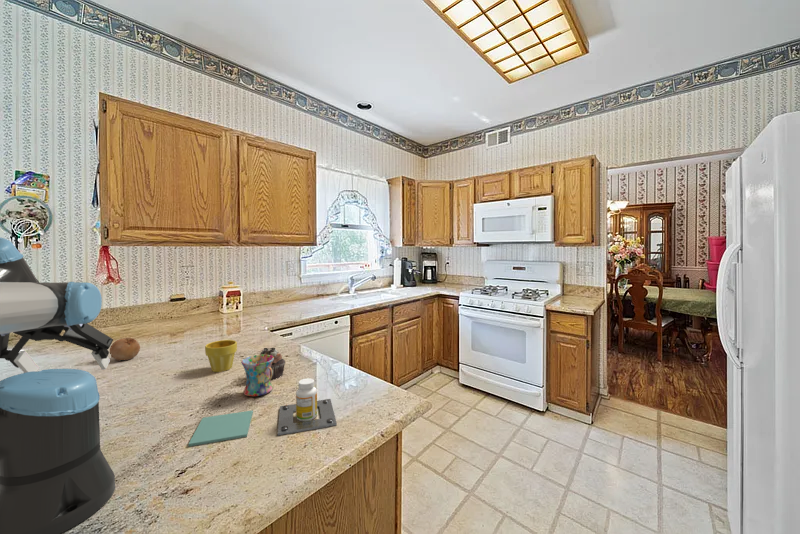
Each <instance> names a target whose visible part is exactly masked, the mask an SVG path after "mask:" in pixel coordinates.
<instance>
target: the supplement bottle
mask: <svg viewBox="0 0 800 534" xmlns="http://www.w3.org/2000/svg"><path fill="white" fill-rule="evenodd" d="M317 389H318V388H316V387H315V380H314V378H302V379H300V380H298V389H297V390H296V392H295V404H296V412H295V414H296V419H297V420H298V421H299V422H304V421H310V420H315V418H316V417H317V415H318V408H317V401H318V391H317Z"/></svg>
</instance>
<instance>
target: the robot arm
mask: <svg viewBox="0 0 800 534" xmlns="http://www.w3.org/2000/svg"><path fill="white" fill-rule="evenodd" d="M13 243H14V242H12V241H10V240H9V239H7V238H4V237H0V359H4V360H5V361H9V362H10V363H11V364H12V365H13V366H14V367H15V368H17V369H18V368H19V369H20V370H21V371H22V372H23V373H22V372H21V373H18V374H14V375H12V376H11V375H10V376H9V377H5V378H4V379H2V380H0V534H62V533H65V532H66V531H68V530H70V529H72V528H74V527H75V526H77V525H79V524H80V523H82V522H84V521H85V520H87V519H88V518H89V517H91V516H93V515H94V514H95V513H97V512H98V511H99V510H100V509H102V508H103V506H105V505H106V504H107V502H108V501H109V500H110V499H111V498H112V496H113V494H114V493H115V490H116V477H115V475H116V474H115V473H114V471H113V469H112V467H111V466H110V463H109V461H108V460H107V458H106V457H105V455H104V453H103V452H102V449H101V433H100V432H101V431H100V429H101V428H100V402H99V401H100V397H101V396H100V393H99V392H100V391H99V389H98V384H97V379H96V376H94V375H93V374H92V373H90V372H89V371H85V370H83V369H78V368H77V369H76V368H50V369H49V368H46V369H41V370H40V366H39V365H38V364H37V363H36V362H35V360H34V359H33V358H32V357H31V355H29V353H28V352H27V351H26V350H22V349H23V348H24V346H25V345H26V344H27V343H28V342H29V340H33V341H34V342H39V341H45V340H46V341H52V340H55V341H58V342H67V343H70V344H73V345H76V346H79V347H81V348H85V349H87V350H90V351H91V356H92V357H93V358H94V359H95V361H96V363H97V364H98V366H99V368H100V369H101V370H103V371H104V370H107V369H108V368H107V367H108V365H109V364H110V361H111V359H110V357H109V355H110V347H111V345H112V344H113V342H114V339H113V338H112V337H111V336H109V335H106V334H105V333H104V332H102V331H100V330H99V329H97V328H95V327H94V326H92V325H90V324H89V323H92V322H93V321H94V320H95V319H97V317H98V316H99V315H100V313H101V310H102V303H103V299H102V294H101V291H100V289H99V288H98V286H96V285H95V284H94V283H92V282H87V281H86V282H79V281H78V282H77V281H76V282H75V281H68V282H67V281H66V282H65V281H64V282H39V280H38V278H37V277H36V276H35V274H34V272H33V271H32V270H31V267H30V265H29V264H28V263H27V261H26V260H25V258H24V255H23V253H21V252H20V251H19V250H18V249H17V247H16V246H15V244H13ZM63 331H64V333H63V335H62V332H63ZM11 333H13V334H16V335H18V336H21V337H20V339H19V340H18V341H17V342H16V343H15V345H14V346H13V348H11V349H8V348H9V341H10V334H11Z"/></svg>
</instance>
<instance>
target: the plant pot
mask: <svg viewBox="0 0 800 534" xmlns="http://www.w3.org/2000/svg"><path fill="white" fill-rule="evenodd" d="M204 351H205V353H204V354H205V356H207V358H208V361H209V365H210V368H211V371H212V372H214V373H222V372H223V373H224V372H227V371H230V370H231V369H233V364H234V359H235V354H236V352H237V351H238V342H237V341H236V340H232V339H223V340H216V341H212V342H209V343H207V344H205V345H204Z"/></svg>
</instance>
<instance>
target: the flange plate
mask: <svg viewBox="0 0 800 534" xmlns="http://www.w3.org/2000/svg"><path fill="white" fill-rule="evenodd" d="M317 409H319V414H320V418H316V419H312V420H310V421H298V422H294V413H296V403H293V404H287V405H285V404H284V405H280V406H279V415H278V416H279V417H278V425H277V436H278V437H279V436H283V435H289V434H294V433H301V432H306V431H312V430H318V429H323V428H324V429H325V428H330V427H336V426H337V419H336V415H335V412H334V411H335V410H334V407H333V405H332V399H331V398H326V399H320V400H317Z"/></svg>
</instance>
